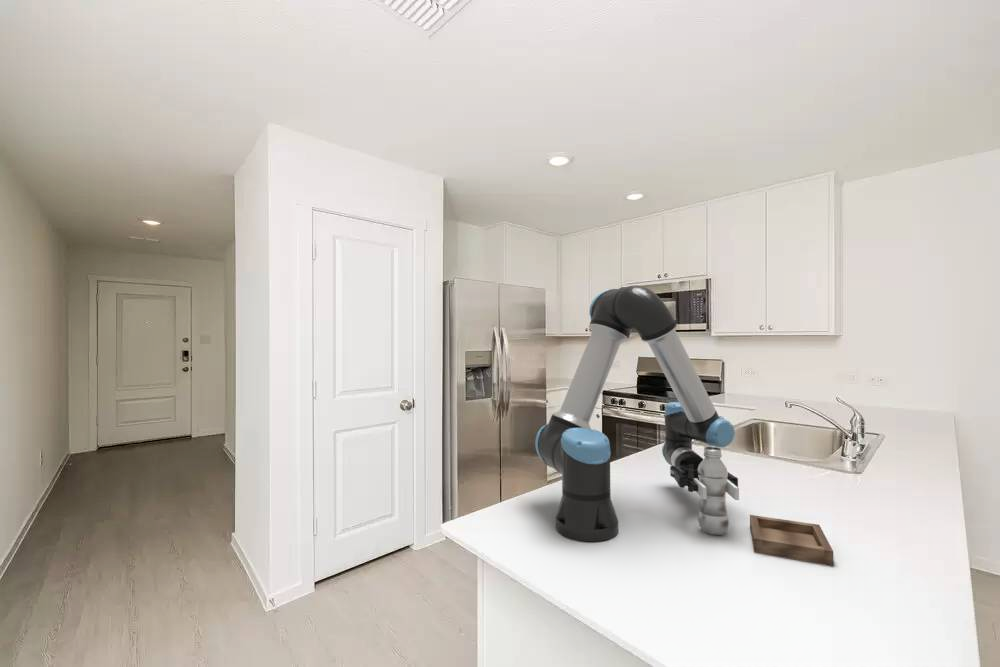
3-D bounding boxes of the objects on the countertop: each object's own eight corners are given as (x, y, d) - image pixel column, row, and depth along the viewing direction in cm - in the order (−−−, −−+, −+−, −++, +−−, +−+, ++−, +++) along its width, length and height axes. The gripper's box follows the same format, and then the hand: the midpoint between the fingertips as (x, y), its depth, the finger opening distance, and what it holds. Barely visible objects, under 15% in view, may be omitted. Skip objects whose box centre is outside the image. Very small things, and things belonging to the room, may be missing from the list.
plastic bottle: (734, 538, 103) (733, 452, 103) (704, 538, 103) (704, 452, 103) (721, 526, 109) (720, 445, 109) (693, 526, 109) (692, 445, 110)
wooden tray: (754, 552, 96) (753, 538, 96) (749, 527, 109) (749, 514, 109) (833, 566, 90) (833, 551, 90) (819, 537, 103) (819, 524, 103)
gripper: (725, 478, 123) (766, 511, 100) (653, 477, 125) (677, 509, 102) (724, 451, 123) (765, 478, 100) (652, 450, 125) (676, 476, 102)
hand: (720, 493), depth 101 cm, fingers closed on plastic bottle, 6 cm apart
